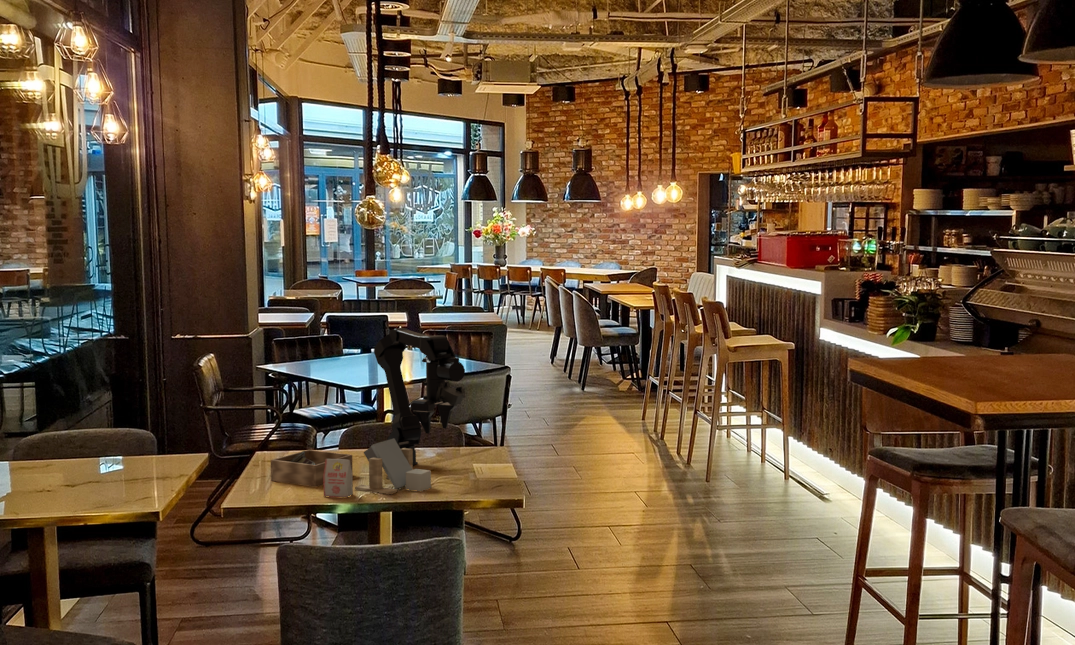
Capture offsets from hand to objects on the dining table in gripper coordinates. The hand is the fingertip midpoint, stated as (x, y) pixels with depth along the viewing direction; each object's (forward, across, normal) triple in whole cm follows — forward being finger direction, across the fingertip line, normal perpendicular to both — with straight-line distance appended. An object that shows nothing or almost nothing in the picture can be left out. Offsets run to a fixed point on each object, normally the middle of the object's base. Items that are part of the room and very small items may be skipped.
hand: (436, 430), depth 275 cm
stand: (+13, -17, +4) cm, 22 cm away
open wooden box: (+13, -20, +30) cm, 38 cm away
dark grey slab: (+9, -17, +6) cm, 20 cm away
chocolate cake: (+14, -22, +33) cm, 42 cm away
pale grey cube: (+11, -17, -2) cm, 20 cm away
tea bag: (+13, -33, +10) cm, 37 cm away
